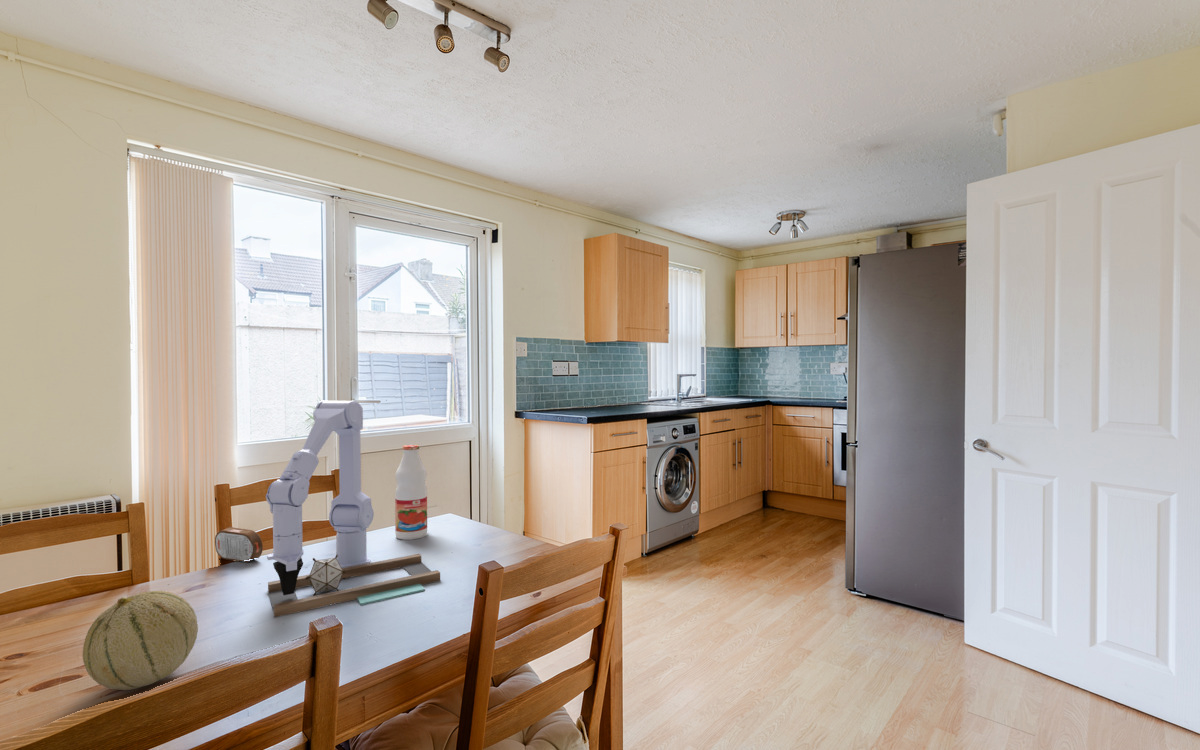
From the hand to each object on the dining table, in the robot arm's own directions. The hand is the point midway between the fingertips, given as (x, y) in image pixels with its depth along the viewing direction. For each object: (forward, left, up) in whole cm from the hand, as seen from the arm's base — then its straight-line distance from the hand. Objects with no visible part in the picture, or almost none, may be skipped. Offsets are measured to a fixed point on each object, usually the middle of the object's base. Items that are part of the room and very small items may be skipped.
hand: (288, 593), depth 125 cm
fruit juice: (-33, +37, -2) cm, 49 cm away
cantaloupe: (+24, -23, -2) cm, 34 cm away
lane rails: (0, +14, -1) cm, 14 cm away
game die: (0, +8, -2) cm, 8 cm away
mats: (0, +14, -1) cm, 14 cm away
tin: (-38, -8, -2) cm, 39 cm away
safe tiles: (0, +20, -1) cm, 20 cm away
